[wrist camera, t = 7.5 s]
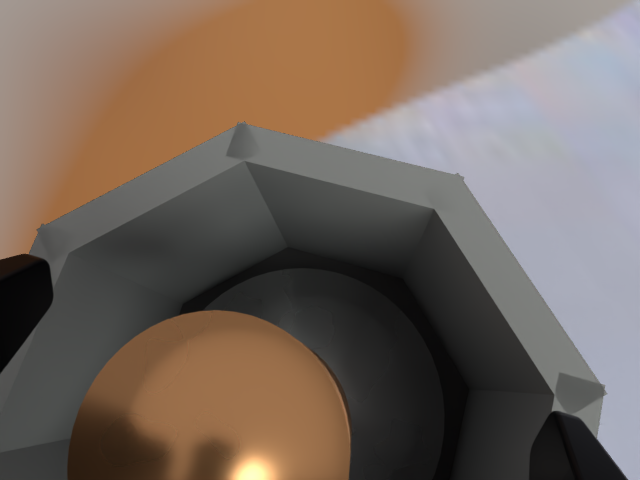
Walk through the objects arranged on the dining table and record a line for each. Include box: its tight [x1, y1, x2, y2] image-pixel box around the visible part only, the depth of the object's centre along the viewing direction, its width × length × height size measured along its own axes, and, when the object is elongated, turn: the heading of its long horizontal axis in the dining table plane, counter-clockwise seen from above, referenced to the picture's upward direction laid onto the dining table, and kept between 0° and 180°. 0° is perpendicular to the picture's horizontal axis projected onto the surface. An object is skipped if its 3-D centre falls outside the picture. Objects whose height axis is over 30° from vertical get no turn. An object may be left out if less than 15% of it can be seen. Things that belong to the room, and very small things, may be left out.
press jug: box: [0, 122, 607, 480], centre depth 13 cm, size 12×13×8 cm
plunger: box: [67, 268, 445, 480], centre depth 11 cm, size 8×8×10 cm
